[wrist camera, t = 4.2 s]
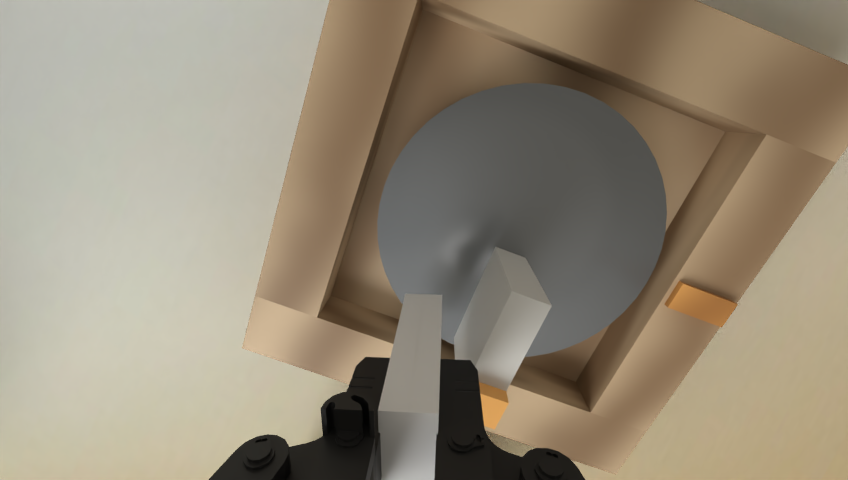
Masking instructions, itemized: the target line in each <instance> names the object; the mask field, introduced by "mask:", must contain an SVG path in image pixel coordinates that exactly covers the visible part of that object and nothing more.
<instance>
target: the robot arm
mask: <svg viewBox="0 0 848 480" xmlns="http://www.w3.org/2000/svg"><path fill="white" fill-rule="evenodd" d="M441 325H442V295H431V294H405V297H404V301H403V305H402V310H401V314H400V318H399V323H398V327H397V331H396V335H395V340H394V344H393V348H392V352H391V357H390V358H382V357H365V358H364V359H363V360H362V361H361V362H360V363H359V364H357V365H356V367H355V370H354V373H353V376H352V379H351V381H350V384H349V388H348V389H347V392H343V393H340V394H337V395H334V396H332V397H331V398H330V399H328V400H327V401H326V402H325V403H324V404H323V406H322V407H321V417H322V429H323V437H321V438H319V439H317V440H315V441H312V442H309V443H306V444H301V445H296V446H292V447H289V446H288V444H287V442H286V441H285V439H283V438H281V437H279V436H277V435H263V436H258V437H255V438H253V439H251V440H249V441H247V442H245V443H244V444H243V445H242V446H240V447H239V448H238V449H237V450H236V451H235V452H234V453H233V454H232V455H231V456H230V457H229V458H228V459H227V460H226V462H225V463H224V464H223V465H222V466H221V467H220V468H219V469H218V470H217V471H216V472H215V473H214V474H213V476H212V477H211V478H210V479H209V480H585V479H584V477H583V476H582V474H581V472H580V471H579V469H578V468H577V466H576V465H575V464H574V463H573V462H572V461H571V460H570V458H568V457H567V456H565V455H564V454H562V453H560V452H559V451H556V450H553V449H549V448H536V449H533V450H530V451H528V452H527V453H526V454H525V455H524V456H523V457H520V456H517V455H514V454H511V453H508V452H506V451H504V450H502V449H500V448H499V447H497V446H496V445H494V443H493V442H492V441H491V440H490V439H489V438H488V436H487V434H486V432H485V428H484V421H483V412H482V403H481V395H480V386H479V377H478V370H477V369H476V367H475V366H474V365H473V363H472V362H471V360H455V359H441Z"/></svg>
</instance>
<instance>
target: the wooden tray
mask: <svg viewBox="0 0 848 480" xmlns="http://www.w3.org/2000/svg"><path fill="white" fill-rule="evenodd" d="M520 83H543V84H551V85H557V86H563V87H567V88H570V89H573V90H577V91H580V92H583V93H586V94H588V95H590V96H592V97H594V98H596V99H598V100H600V101H602V102H604V103H605V104H607V105H608V106H610V107H611V108H613V109H614V110H616V111H617V112H618V113H620V114H621V115H622V116H623V117H624V118H625V119H626V120H627V121H628V122H629V123H630V124H632V125H633V126H634V127H635V129H636V130H637V131H638V133H639V134H640V135H641V136H642V138H643V139H644V140H645V142H646V143H647V145H648V147H649V148H650V150H651V152H652V154H653V156H654V157H655V159H656V162H657V164H658V167H659V170H660V173H661V175H662V179H663V184H664V188H665V193H666V205H667V220H666V232H665V236H664V241H663V245H662V250H661V253H660V255H659V258H658V261H657V263H656V266H655V268H654V270H653V272H652V274H651V276H650V278H649V280H648V282H647V283H646V285H645V286H644V288H643V289H642V291H641V292H640V294H639V295H638V296H637V298H636V299H635V300H634V301H633V302H632V304H631V305H630V306H629V307H628V308H627V309H626V310H625V311H624V312H623V313H622V314H621V315H620V316H619V317H618V318H617V319H615V320H614V321H613V322H612V323H611V324H610V325H608V326H607V327H605V328H604V329H602V330H601V331H600V332H598V333H597V334H595V335H593V336H591V337H589V338H588V339H586V340H584V341H582V342H580V343H578V344H575V345H573V346H570V347H568V348H565V349H562V350H559V351H555V352H552V353H548V354H543V355H537V356H531V357H524V359H523V361H522V363H521V365H520V366H519V368H518V370H517V372H516V374H515V376H514V378H513V380H512V381H511V383H510V385H509V387H508V389H507V391H506V392H507V397H508V402H509V404H508V406H507V408H506V410H505V411H504V413H503V415H502V417H501V419H500V421H499V422H498V424H497V426H496V428H495V430H494V429H491V428H489V427H486V426H484V428H485V431H488V432H491V433H494V434H497V435H500V436H503V437H506V438H509V439H512V440H515V441H518V442H521V443H524V444H527V445H530V446H533V447H536V448H549V449H553V450H556V451H559V452H560V453H562V454H564V455H565V456H567V457H568V458H570V459H571V460H574V461H577V462H580V463H583V464H586V465H589V466H592V467H595V468H598V469H601V470H604V471H607V472H609V473H612V474H615V475H616V474H617V472H618V471H619V470H620V468H621V467H622V465H623V464H624V463H625V461H626V460H627V458H628V457H629V455H630V454H631V453H632V451H633V450H634V448H635V447H636V445H637V444H638V443H639V441H640V440H641V438H642V437H643V436H644V434H645V433H646V431H647V430H648V428H649V427H650V426H651V424H652V423H653V421H654V420H655V419H656V417H657V416H658V414H659V413H660V411H661V410H662V409H663V407H664V406H665V404H666V403H667V402H668V400H669V399H670V397H671V396H672V394H673V393H674V392H675V390H676V389H677V387H678V386H679V384H680V383H681V382H682V380H683V379H684V377H685V376H686V375H687V373H688V372H689V370H690V369H691V367H692V366H693V365H694V363H695V362H696V360H697V359H698V358H699V356H700V355H701V353H702V352H703V350H704V349H705V348H706V346H707V345H708V343H709V342H710V341H711V339H712V338H713V336H714V335H715V333H716V332H717V331H718V329H719V328H720V327H722V326H723V325H724V323H725V322H726V321H727V319H728V318H729V316H730V315H731V314H732V312H733V311H734V309H735V308H736V306H737V305H738V304H737V302H738V301H739V299H740V298H741V297H742V295H743V294H744V292H745V291H746V289H747V288H748V287H749V285H750V284H751V282H752V281H753V280H754V278H755V277H756V275H757V274H758V272H759V271H760V270H761V268H762V267H763V265H764V264H765V263H766V261H767V260H768V258H769V257H770V255H771V254H772V253H773V251H774V250H775V248H776V247H777V245H778V244H779V243H780V241H781V240H782V238H783V237H784V236H785V234H786V233H787V231H788V230H789V228H790V227H791V226H792V224H793V223H794V221H795V220H796V219H797V217H798V216H799V214H800V213H801V211H802V210H803V209H804V207H805V206H806V204H807V203H808V202H809V200H810V199H811V197H812V196H813V194H814V193H815V192H816V190H817V189H818V187H819V186H820V185H821V183H822V182H823V180H824V179H825V177H826V176H827V175H828V173H829V172H830V170H831V169H832V167H833V166H834V165H835V163H836V162H837V160H838V159H839V158H840V156H841V155H842V153H843V152H844V150H845V149H846V148H847V146H848V65H847V64H844V63H842V62H840V61H837V60H835V59H833V58H830V57H828V56H826V55H823V54H821V53H819V52H816V51H814V50H811V49H809V48H807V47H804V46H802V45H800V44H797V43H795V42H793V41H790V40H788V39H786V38H783V37H781V36H779V35H776V34H774V33H771V32H769V31H767V30H764V29H762V28H760V27H757V26H755V25H753V24H750V23H748V22H746V21H743V20H741V19H738V18H736V17H734V16H731V15H729V14H727V13H724V12H722V11H720V10H717V9H715V8H713V7H710V6H708V5H705V4H703V3H701V2H698V1H696V0H329V4H328V8H327V12H326V16H325V20H324V24H323V28H322V32H321V36H320V40H319V44H318V48H317V52H316V56H315V60H314V64H313V68H312V72H311V76H310V80H309V84H308V88H307V92H306V96H305V100H304V104H303V108H302V112H301V116H300V120H299V124H298V128H297V132H296V135H295V139H294V143H293V147H292V151H291V155H290V159H289V163H288V167H287V171H286V175H285V179H284V183H283V187H282V191H281V195H280V199H279V203H278V207H277V211H276V215H275V219H274V223H273V227H272V231H271V235H270V239H269V243H268V247H267V251H266V255H265V259H264V263H263V267H262V271H261V275H260V279H259V283H258V286H257V290H256V294H255V298H254V302H253V306H252V310H251V314H250V318H249V322H248V326H247V330H246V334H245V338H244V342H243V346H242V348H243V349H246V350H249V351H252V352H255V353H258V354H261V355H264V356H267V357H270V358H273V359H276V360H279V361H282V362H285V363H288V364H291V365H293V366H296V367H299V368H302V369H305V370H308V371H311V372H314V373H317V374H320V375H323V376H326V377H329V378H332V379H335V380H338V381H341V382H344V383H347V384H350V381H351V379H352V376H353V373H354V370H355V367H356V365H357V364H359V363H360V362H361V361H362V360H363V359H364V358H365V357H382V358H390V357H391V352H392V348H393V344H394V340H395V335H396V331H397V327H398V323H399V318H400V314H401V310H402V305H403V304H402V303H401V302H400V300H399V298H398V297H397V295H396V294H395V292H394V290H393V289H392V287H391V285H390V282H389V280H388V278H387V276H386V273H385V271H384V267H383V264H382V260H381V257H380V252H379V245H378V231H377V220H378V212H379V204H380V200H381V196H382V192H383V189H384V185H385V183H386V180H387V178H388V175H389V173H390V171H391V168H392V166H393V165H394V163H395V161H396V160H397V158H398V156H399V154H400V153H401V151H402V150H403V148H404V147H405V146H406V145H407V143H408V142H409V141H410V139H411V138H412V137H413V136H414V135H415V134H416V133H417V132H418V131H419V130H420V129H421V128H422V127H423V126H424V125H425V124H426V123H427V122H428V121H429V120H430V119H432V118H433V117H434V116H436V115H437V114H438V113H440V112H441V111H442V110H444V109H445V108H447V107H449V106H450V105H452V104H454V103H456V102H457V101H459V100H461V99H463V98H465V97H468V96H470V95H473V94H475V93H478V92H480V91H483V90H487V89H491V88H495V87H499V86H503V85H511V84H520ZM441 359H455V351H454V345H453V344H451V343H449V342H447V341H445V340H443V339H442V338H441Z"/></svg>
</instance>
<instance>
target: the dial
mask: <svg viewBox="0 0 848 480" xmlns="http://www.w3.org/2000/svg"><path fill="white" fill-rule="evenodd" d="M666 220H667V205H666V193H665V188H664V184H663V179H662V175H661V173H660V170H659V167H658V164H657V162H656V159H655V157H654V156H653V154H652V152H651V150H650V148H649V147H648V145H647V143H646V142H645V140H644V139H643V138H642V136H641V135H640V134H639V133H638V131H637V130H636V129H635V127H634V126H633V125H632V124H630V123H629V122H628V121H627V120H626V119H625V118H624V117H623V116H622V115H621V114H620V113H618V112H617V111H616V110H614V109H613V108H611V107H610V106H608V105H607V104H605V103H604V102H602V101H600V100H598V99H596V98H594V97H592V96H590V95H588V94H586V93H583V92H580V91H577V90H573V89H570V88H567V87H563V86H557V85H551V84H543V83H520V84H511V85H503V86H499V87H495V88H491V89H487V90H483V91H480V92H478V93H475V94H473V95H470V96H468V97H465V98H463V99H461V100H459V101H457V102H456V103H454V104H452V105H450V106H449V107H447V108H445V109H444V110H442V111H441V112H440V113H438V114H437V115H436V116H434V117H433V118H432V119H430V120H429V121H428V122H427V123H426V124H425V125H424V126H423V127H422V128H421V129H420V130H419V131H418V132H417V133H416V134H415V135H414V136H413V137H412V138H411V139H410V141H409V142H408V143H407V145H406V146H405V147H404V148H403V150H402V151H401V153H400V154H399V156H398V158H397V160H396V161H395V163H394V165H393V166H392V168H391V171H390V173H389V175H388V178H387V180H386V183H385V185H384V189H383V192H382V196H381V200H380V204H379V212H378V220H377V231H378V245H379V252H380V257H381V260H382V264H383V267H384V271H385V273H386V276H387V278H388V280H389V282H390V285H391V287H392V289H393V290H394V292H395V294H396V295H397V297H398V298H399V300H400V302H401V303H402V304H403V301H404V297H405V294H431V295H442V325H441V338H442V339H443V340H445V341H447V342H449V343H451V344H453V345H454V351H455V360H471V362H472V363H473V365H474V366H475V367H476V369H477V370H478V377H479V386H480V395H481V403H482V412H483V421H484V426H486V427H489V428H491V429H494V430H495V428H496V426H497V424H498V422H499V421H500V419H501V417H502V415H503V413H504V411H505V410H506V408H507V406H508V404H509V402H508V397H507V392H506V391H507V389H508V387H509V385H510V383H511V381H512V380H513V378H514V376H515V374H516V372H517V370H518V368H519V366H520V365H521V363H522V361H523V359H524V357H531V356H537V355H543V354H548V353H552V352H555V351H559V350H562V349H565V348H568V347H570V346H573V345H575V344H578V343H580V342H582V341H584V340H586V339H588V338H589V337H591V336H593V335H595V334H597V333H598V332H600V331H601V330H602V329H604V328H605V327H607V326H608V325H610V324H611V323H612V322H613V321H614V320H615V319H617V318H618V317H619V316H620V315H621V314H622V313H623V312H624V311H625V310H626V309H627V308H628V307H629V306H630V305H631V304H632V302H633V301H634V300H635V299H636V298H637V296H638V295H639V294H640V292H641V291H642V289H643V288H644V286H645V285H646V283H647V282H648V280H649V278H650V276H651V274H652V272H653V270H654V268H655V266H656V263H657V261H658V258H659V255H660V253H661V250H662V245H663V241H664V236H665V232H666Z"/></svg>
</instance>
